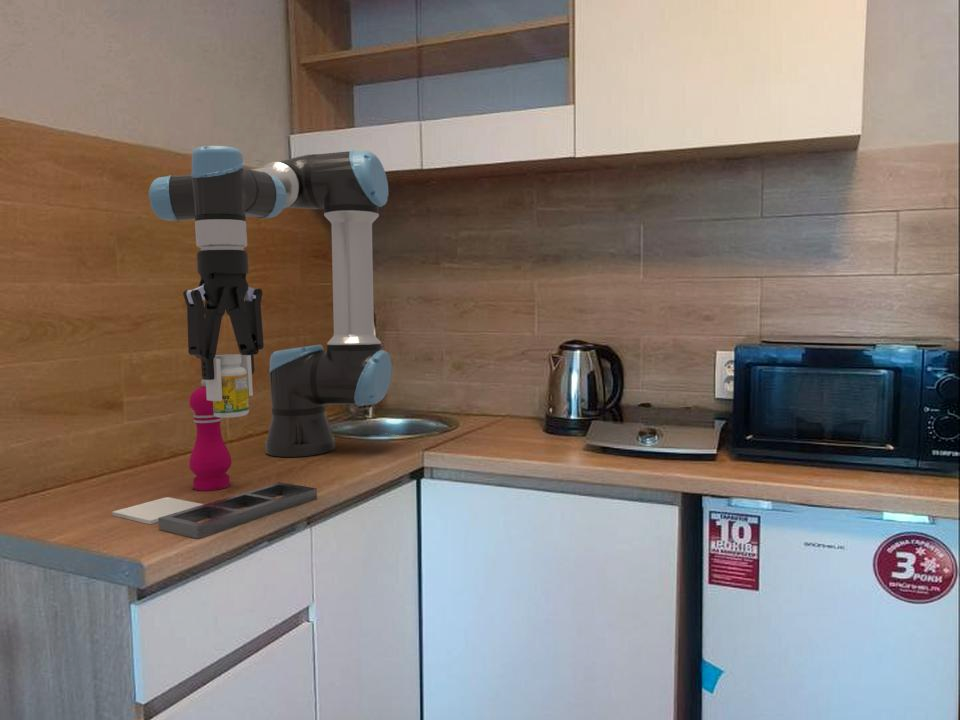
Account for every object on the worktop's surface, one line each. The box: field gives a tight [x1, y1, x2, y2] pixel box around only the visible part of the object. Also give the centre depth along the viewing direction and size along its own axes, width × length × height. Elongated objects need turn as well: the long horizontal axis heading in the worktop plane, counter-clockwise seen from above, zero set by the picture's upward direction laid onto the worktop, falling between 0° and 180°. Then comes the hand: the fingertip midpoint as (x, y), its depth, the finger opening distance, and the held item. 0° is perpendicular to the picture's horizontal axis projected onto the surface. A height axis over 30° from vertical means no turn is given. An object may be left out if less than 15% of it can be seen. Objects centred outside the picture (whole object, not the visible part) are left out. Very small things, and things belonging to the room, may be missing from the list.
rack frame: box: [157, 481, 318, 540], centre depth 122 cm, size 24×9×2 cm, turn 148°
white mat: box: [111, 496, 204, 525], centre depth 124 cm, size 10×10×1 cm
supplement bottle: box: [213, 353, 250, 419], centre depth 121 cm, size 5×5×10 cm
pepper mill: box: [188, 379, 232, 492], centre depth 139 cm, size 7×7×20 cm
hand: (230, 397), depth 121 cm, fingers closed on supplement bottle, 5 cm apart
